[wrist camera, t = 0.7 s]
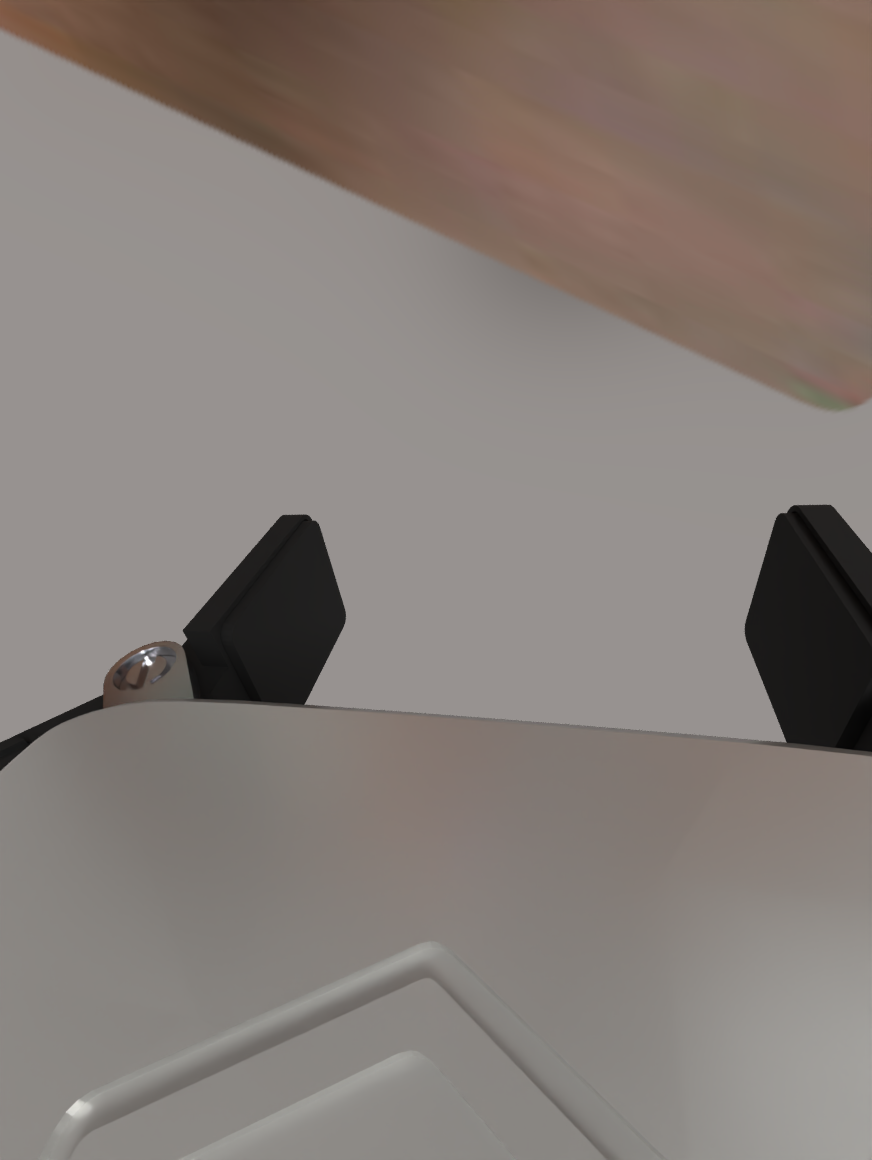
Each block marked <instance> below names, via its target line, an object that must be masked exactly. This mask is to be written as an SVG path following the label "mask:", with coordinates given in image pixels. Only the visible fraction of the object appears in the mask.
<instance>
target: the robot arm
mask: <svg viewBox="0 0 872 1160" xmlns="http://www.w3.org/2000/svg"><path fill="white" fill-rule="evenodd" d="M345 620H346V612H345V608H344V605H343V601H342V598H341V595H340V592H339V588H338V585H337V582H336V579H335V575H334V572H333V569H332V565H331V562H330V559H329V556H328V552H327V549H326V546H325V542H324V539H323V536H322V533H321V529H320V526H319V524H318V523H317V522H316V521H312V519H311V518H310V516H308V515H282V516H281V517H280V518H279V519H278V520H277V521H276V523H275V524H274V525H273V526H272V527H271V528H270V530H269V531H268V532H267V533H266V534H265V535H264V537H263V538H262V539H261V540H260V541H259V543H258V544H257V545H256V546H255V547H254V548H253V549H252V550H251V552H250V553H249V554H248V555H247V556H246V557H245V559H244V560H243V561H242V562H241V563H240V564H239V566H238V567H237V568H236V569H235V570H234V572H233V573H232V574H231V575H230V576H229V577H228V578H227V580H226V581H225V582H224V583H223V584H222V585H221V587H220V588H219V589H218V590H217V591H216V592H215V594H214V595H213V596H212V597H211V598H210V599H209V600H208V602H207V603H206V604H205V605H204V606H203V607H202V609H201V610H200V611H199V612H198V613H197V614H196V616H195V617H194V618H193V619H192V620H191V621H190V623H189V624H188V625H187V626H186V627H185V628H184V629H183V632H184V634H185V636H186V637H187V641H186V642H185V643H184V644H183V645H182V646H181V645H179V644H178V643H176V642H171V641H162V642H154V643H151V644H148V645H144V646H142V647H140V648H138V649H136V650H134V651H131V652H130V653H128V654H127V655H126V656H124V657H123V658H121V659H120V660H119V661H118V662H117V663H116V664H115V665H114V666H113V667H112V668H111V669H110V671H109V672H108V673H107V675H106V677H105V680H104V685H103V695H102V696H99V697H97V698H95V699H93V700H91V701H89V702H86V703H85V704H82V705H80V706H78V707H76V708H74V709H72V710H69V711H67V712H65V713H63V714H61V715H58V716H56V717H54V718H52V719H50V720H48V721H46V722H43V723H41V724H39V725H37V726H35V727H33V728H31V729H28V730H26V731H24V732H22V733H20V734H18V735H15V736H13V737H12V738H10V739H7V740H5V741H2V742H0V1160H872V553H871V552H870V551H869V549H868V548H867V547H866V546H865V544H864V543H863V542H862V541H861V540H860V538H859V537H858V536H857V535H856V534H855V533H854V531H853V530H852V529H851V528H850V526H849V525H848V524H847V523H846V522H845V520H844V519H843V518H842V517H841V516H840V514H839V513H838V512H837V511H836V510H835V508H834V507H832V506H831V505H794V506H792V507H791V508H790V509H789V510H788V512H787V513H781V514H779V515H778V516H777V518H776V520H775V523H774V527H773V530H772V534H771V537H770V540H769V544H768V547H767V551H766V554H765V557H764V561H763V564H762V568H761V571H760V575H759V578H758V581H757V585H756V588H755V592H754V595H753V598H752V602H751V605H750V609H749V612H748V616H747V619H746V623H745V636H746V641H747V643H748V646H749V648H750V651H751V653H752V656H753V658H754V661H755V663H756V666H757V668H758V671H759V673H760V676H761V679H762V681H763V684H764V686H765V689H766V691H767V694H768V696H769V699H770V701H771V704H772V706H773V709H774V711H775V714H776V716H777V719H778V722H779V724H780V727H781V729H782V732H783V734H784V737H785V739H786V742H787V743H784V742H771V741H758V740H748V739H738V738H726V737H716V736H703V735H691V734H679V733H667V732H654V731H642V730H630V729H617V728H605V727H593V726H581V725H569V724H556V723H544V722H543V723H542V722H531V721H518V720H505V719H492V718H479V717H466V716H453V715H439V714H426V713H413V712H399V711H385V710H371V709H356V708H343V707H329V706H315V705H304V704H305V702H306V700H307V699H308V697H309V695H310V693H311V691H312V688H313V686H314V684H315V683H316V681H317V679H318V676H319V675H320V673H321V671H322V669H323V667H324V665H325V663H326V661H327V659H328V657H329V655H330V653H331V651H332V649H333V647H334V645H335V643H336V641H337V639H338V637H339V635H340V633H341V631H342V629H343V627H344V624H345Z"/></svg>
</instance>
